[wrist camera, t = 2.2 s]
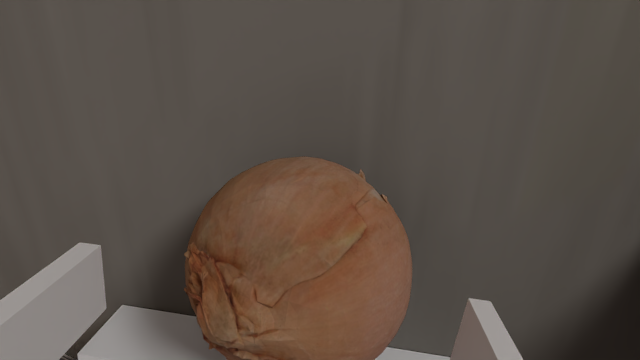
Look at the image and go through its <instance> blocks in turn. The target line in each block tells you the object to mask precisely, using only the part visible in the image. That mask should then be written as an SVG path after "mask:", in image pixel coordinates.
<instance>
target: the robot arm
mask: <svg viewBox="0 0 640 360" xmlns="http://www.w3.org/2000/svg"><path fill="white" fill-rule="evenodd" d="M105 310H106V299H105V288H104V276H103V265H102V254H101V245H94V244H87V243H78V244H77V245H76V246H74V247H73V248H71V249H70V250H69V251H67V252H66V253H65V254H63V255H62V256H60V257H59V258H58V259H56V260H55V261H54V262H52V263H51V264H49V265H48V266H47V267H45V268H44V269H43V270H41V271H40V272H38V273H37V274H36V275H34V276H33V277H32V278H30V279H29V280H27V281H26V282H25V283H23V284H22V285H21V286H19V287H18V288H16V289H15V290H14V291H12V292H11V293H10V294H8V295H7V296H5V297H4V298H3V299H1V300H0V360H59V359H60V358H61V357H62V356H63V355H64V354H65V353H66V352H67V351H68V349H69V348H70V347H71V346H72V345H73V344H74V343H75V342H76V341H77V340H78V339H79V338H80V337H81V335H82V334H83V333H84V332H85V331H86V330H87V329H88V328H89V327H90V326H91V325H92V324H93V322H94V321H95V320H96V319H97V318H98V317H99V316H100V315H101V314H102V313H103V312H104V311H105ZM450 360H523V358H522V357H521V355H520V353H519V351H518V350H517V348H516V346H515V344H514V342H513V341H512V339H511V337H510V335H509V333H508V332H507V330H506V328H505V326H504V325H503V323H502V321H501V319H500V317H499V316H498V314H497V312H496V310H495V309H494V307H493V305H492V303H491V301H485V300H478V299H471V298H468V301H467V304H466V308H465V311H464V314H463V318H462V321H461V324H460V327H459V331H458V334H457V337H456V341H455V344H454V347H453V350H452V354H451V357H450Z"/></svg>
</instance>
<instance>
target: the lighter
mask: <svg viewBox="0 0 640 360" xmlns="http://www.w3.org/2000/svg"><path fill="white" fill-rule="evenodd" d="M59 360H76V359H74V358H72V357H70V356H68V355H66V354H64V355H63V356H62V357H61V358H60V359H59Z"/></svg>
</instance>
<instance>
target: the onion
mask: <svg viewBox="0 0 640 360" xmlns="http://www.w3.org/2000/svg"><path fill="white" fill-rule="evenodd" d="M184 256H185V257H186V261H185V280H186V287H187V288H184V291H185V292H186V293H187V295H188V296H189V299H190V303H191V306H192V308H193V310H194V312H195V314H196V316H197V318H196V319H197V323H198V325H199V327H200V328H201V329H202V334H203V339H204V340H205V341H206V342H207V343H208V344H209V350H210V349H213V348H215V349H216V350H217V351H219V352H220V353H221V354H222V355H224V356H225V357H226V359H227V360H375V359H376V358H377V357H378V356H379V355H380V354H381V353H383V351H384V350H385V349H386V347H387V346H388V344H389V343H390V342H391V341H392V339H393V338H394V337H395V335H396V334H397V332H398V330H399V328H400V326H401V324H402V322H403V320H404V318H405V315H406V311H407V307H408V303H409V299H410V291H411V282H412V259H411V252H410V245H409V241H408V237H407V234H406V232H405V229H404V227H403V225H402V223H401V221H400V219H399V218H398V216H397V215H396V213H395V211H394V209H393V208H392V206H391V205H390V204H389V202H388V201H387V196H386V197H385V196H384V195H383V194H382V195H379V193H378V192H377V191H376V190H375V189H374V188H373V187H372V186H371V185H370V184H368V183H367V182H366V180H365V175H364V173H363V171H362V170H361V169H360V173H359V175H358V174H356V173H355V172H353V171H351V170H350V169H348V168H346V167H344V166H342V165H340V164H337V163H334V162H330V161H327V160H324V159H320V158H313V157H305V156H304V157H291V158H281V159H276V160H271V161H268V162H265V163H262V164H259V165H257V166H254V167H252V168H250V169H248V170H246V171H244V172H242V173H240V174H239V175H237V176H235V177H234V178H232V179H231V180H229V181H228V182H227V183H226V184H225V185H224V186H223V187H222V188H221V189H220V190H219V191H218V192H217V193H216V194H215V195H214V196H213V197H212V198H211V199H210V200H209V202H208V203H207V204H206V206H205V208H204V209H203V211H202V213H201V215H200V217H199V219H198V220H197V223H196V225H195V227H194V230H193V232H192V235H191V238H190V240H189V243H188V249H187V252H186V253H185V254H184Z"/></svg>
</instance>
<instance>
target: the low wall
mask: <svg viewBox="0 0 640 360" xmlns="http://www.w3.org/2000/svg"><path fill="white" fill-rule="evenodd" d="M196 318H197V317H196V316H189V315H183V314H177V313H171V312H164V311H158V310H152V309H146V308H139V307H133V306H127V305H122V306H121V307H120V308H119V309H118V310H117V311H116V312H115V313H114V314H113V315H112V317H111V318H110V319H109V320H108V321H107V322H106V323H105V324H104V325H103V326H102V327H101V329H100V330H99V331H98V332H97V333H96V334H95V335H94V336H93V337H92V338H91V339H90V341H89V342H88V343H87V344H86V345H85V346H84V347H83V348H82V349H81V350H80V351H79V353H78V354H77V355H78V360H227V359H226V357H225V356H224V355H222V354H221V353H220V352H219V351H217V350H216V349H215V348H213V349H210V350H209V344H208V343H207V342H206V341H205V340H204V339H203V334H202V329H201V328H200V327H199V325H198V323H197V319H196ZM375 360H450V357H445V356H439V355H433V354H427V353H420V352H414V351H408V350H402V349H395V348H389V347H386V349H385V350H384V351H383V353H381V354H380V355H379V356H378V357H377V358H376V359H375Z"/></svg>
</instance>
